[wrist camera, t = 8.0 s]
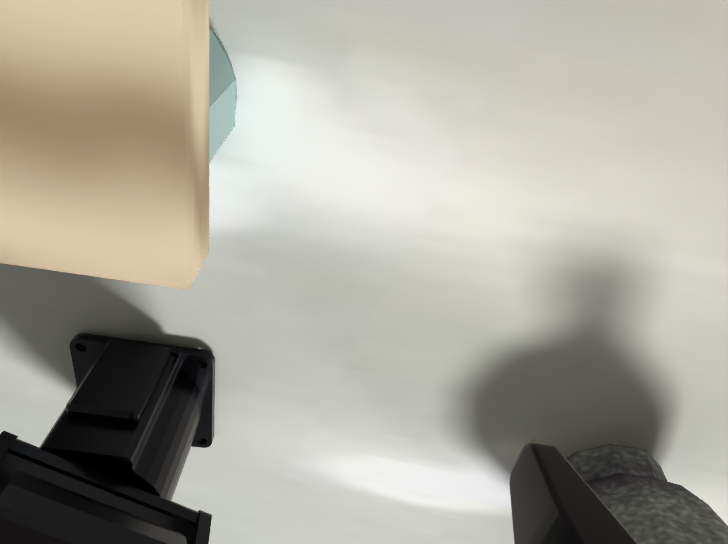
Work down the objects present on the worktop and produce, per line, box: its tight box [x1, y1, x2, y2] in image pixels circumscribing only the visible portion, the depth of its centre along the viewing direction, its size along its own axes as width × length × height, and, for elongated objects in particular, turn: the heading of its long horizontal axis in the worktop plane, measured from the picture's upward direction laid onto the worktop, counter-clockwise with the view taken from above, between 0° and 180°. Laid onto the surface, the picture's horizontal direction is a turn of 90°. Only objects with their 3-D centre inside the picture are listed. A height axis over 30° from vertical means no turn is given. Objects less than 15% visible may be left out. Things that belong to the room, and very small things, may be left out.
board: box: [0, 0, 209, 290], centre depth 14 cm, size 8×6×2 cm
